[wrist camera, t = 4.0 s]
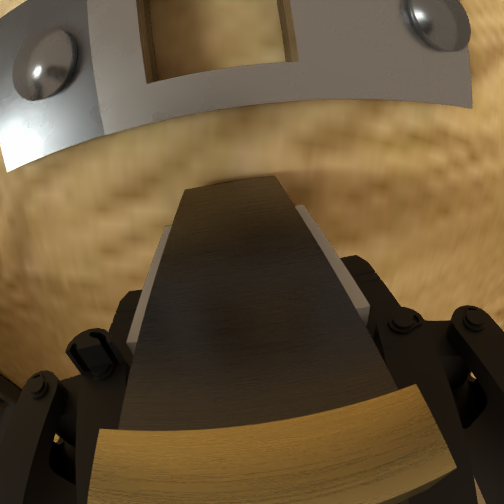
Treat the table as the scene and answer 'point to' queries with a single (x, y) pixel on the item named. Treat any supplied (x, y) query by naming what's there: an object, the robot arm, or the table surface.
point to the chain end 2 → (303, 60)
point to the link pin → (259, 374)
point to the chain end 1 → (55, 78)
